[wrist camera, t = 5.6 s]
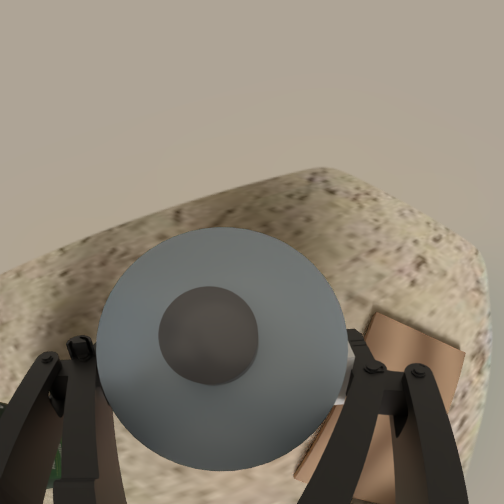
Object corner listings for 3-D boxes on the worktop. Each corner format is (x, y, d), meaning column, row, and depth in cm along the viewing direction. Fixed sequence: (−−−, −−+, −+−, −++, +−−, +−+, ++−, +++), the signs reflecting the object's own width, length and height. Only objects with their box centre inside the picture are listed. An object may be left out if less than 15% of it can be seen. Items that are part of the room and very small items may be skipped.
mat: (293, 475, 18) (294, 478, 17) (372, 315, 24) (376, 311, 23) (397, 504, 15) (401, 507, 14) (459, 354, 21) (465, 352, 21)
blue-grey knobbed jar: (149, 389, 17) (41, 365, 7) (214, 286, 21) (175, 179, 11) (265, 457, 15) (267, 526, 5) (327, 342, 19) (394, 273, 9)
